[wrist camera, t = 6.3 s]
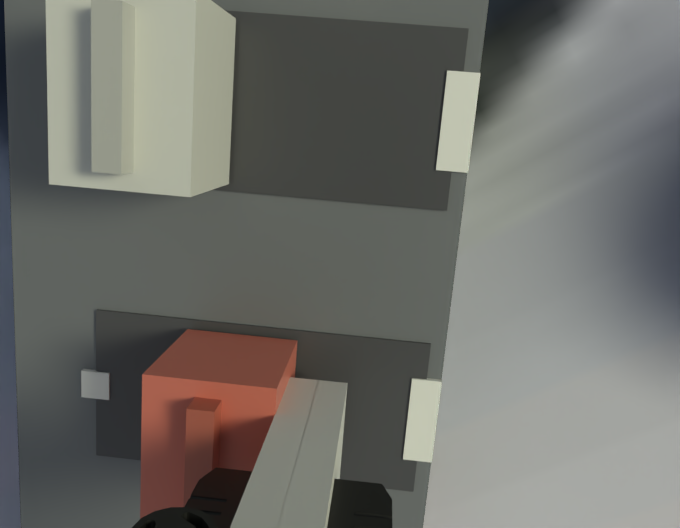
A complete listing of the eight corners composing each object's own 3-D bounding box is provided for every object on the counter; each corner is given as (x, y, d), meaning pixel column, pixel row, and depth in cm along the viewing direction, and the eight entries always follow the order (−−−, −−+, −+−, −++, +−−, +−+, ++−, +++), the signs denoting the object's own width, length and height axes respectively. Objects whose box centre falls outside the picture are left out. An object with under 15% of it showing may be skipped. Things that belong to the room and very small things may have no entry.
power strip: (73, -267, 18) (-19, -383, 14) (500, -245, 17) (534, -361, 13) (81, 622, 24) (20, 720, 20) (391, 662, 24) (392, 773, 20)
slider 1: (115, 9, 15) (27, -30, 12) (236, 18, 15) (187, -18, 11) (114, 173, 16) (33, 187, 12) (228, 184, 16) (180, 200, 12)
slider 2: (187, 329, 17) (130, 385, 13) (297, 340, 17) (271, 400, 13) (183, 462, 18) (129, 551, 14) (287, 475, 18) (261, 567, 14)
